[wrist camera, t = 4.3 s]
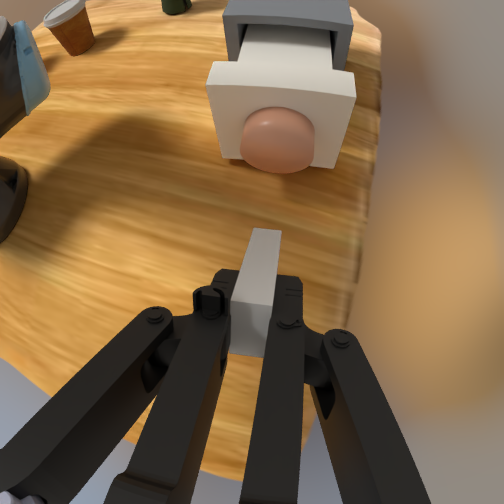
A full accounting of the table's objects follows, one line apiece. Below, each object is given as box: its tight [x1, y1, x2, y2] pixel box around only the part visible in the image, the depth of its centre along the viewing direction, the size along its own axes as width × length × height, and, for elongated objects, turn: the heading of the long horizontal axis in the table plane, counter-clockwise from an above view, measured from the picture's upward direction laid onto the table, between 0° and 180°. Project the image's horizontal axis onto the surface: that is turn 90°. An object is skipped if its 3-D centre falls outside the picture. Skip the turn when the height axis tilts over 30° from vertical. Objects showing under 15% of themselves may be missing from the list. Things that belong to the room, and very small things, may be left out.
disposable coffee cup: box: [44, 0, 95, 56], centre depth 43 cm, size 10×10×12 cm
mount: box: [222, 0, 354, 71], centre depth 35 cm, size 16×14×14 cm
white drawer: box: [206, 24, 356, 173], centre depth 32 cm, size 21×13×12 cm, turn 173°
